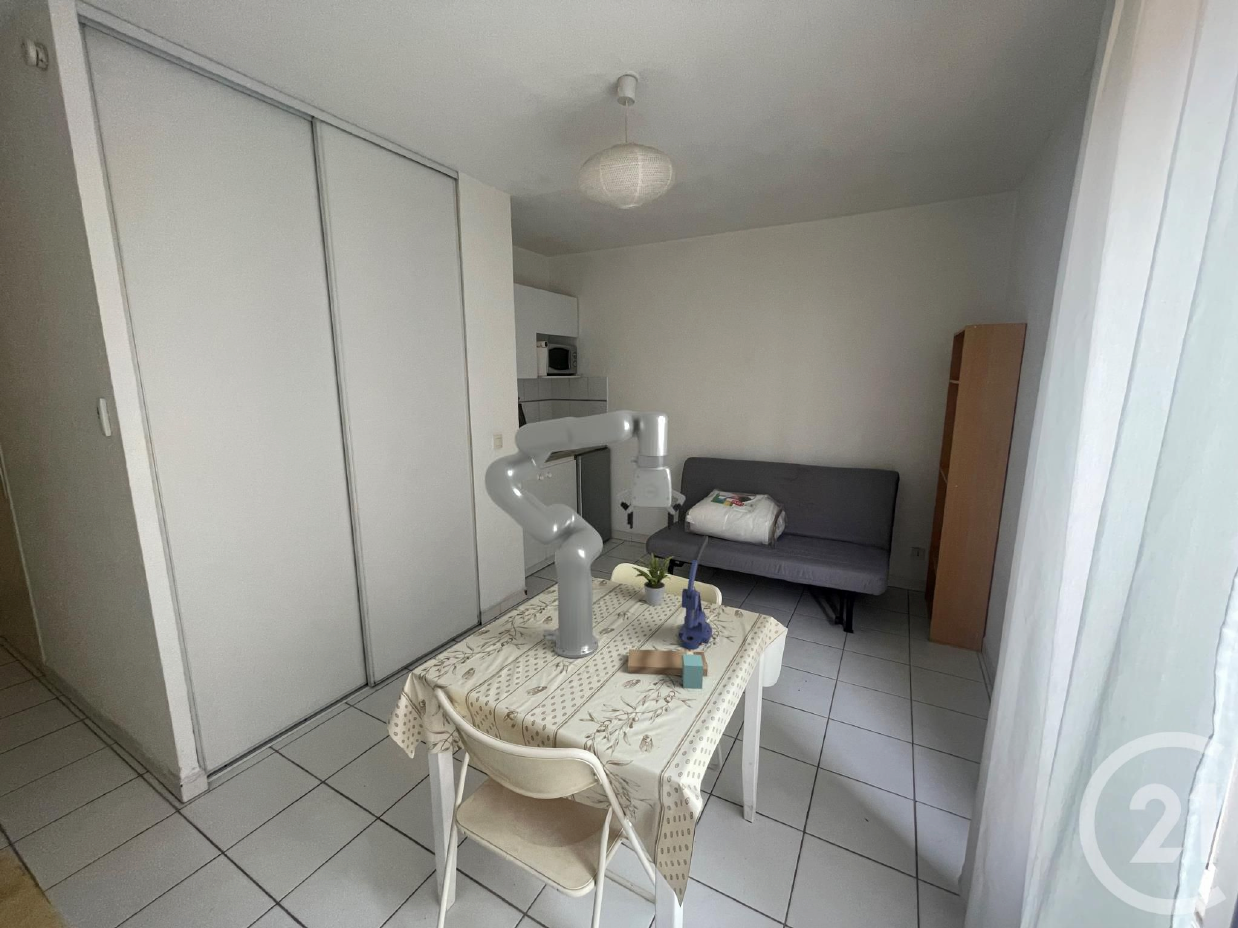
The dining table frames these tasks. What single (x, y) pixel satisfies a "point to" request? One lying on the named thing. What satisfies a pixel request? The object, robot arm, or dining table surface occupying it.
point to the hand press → (694, 610)
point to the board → (659, 662)
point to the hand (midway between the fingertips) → (650, 527)
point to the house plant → (654, 580)
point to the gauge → (692, 671)
